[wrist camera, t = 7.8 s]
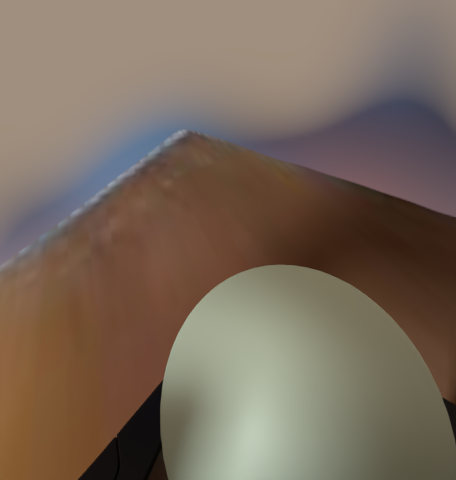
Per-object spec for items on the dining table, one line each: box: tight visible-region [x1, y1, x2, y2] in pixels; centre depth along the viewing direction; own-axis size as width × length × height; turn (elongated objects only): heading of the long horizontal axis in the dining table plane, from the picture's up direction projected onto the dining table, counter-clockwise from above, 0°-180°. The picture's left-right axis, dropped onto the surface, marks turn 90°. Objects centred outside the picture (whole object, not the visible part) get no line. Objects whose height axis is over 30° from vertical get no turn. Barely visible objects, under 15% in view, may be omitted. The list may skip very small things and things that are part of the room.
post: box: [160, 265, 456, 480], centre depth 8 cm, size 5×5×11 cm
